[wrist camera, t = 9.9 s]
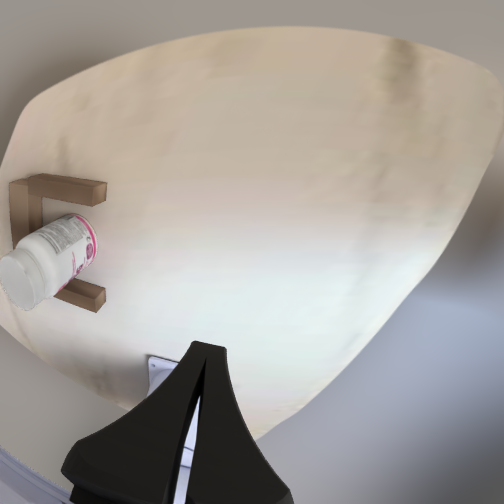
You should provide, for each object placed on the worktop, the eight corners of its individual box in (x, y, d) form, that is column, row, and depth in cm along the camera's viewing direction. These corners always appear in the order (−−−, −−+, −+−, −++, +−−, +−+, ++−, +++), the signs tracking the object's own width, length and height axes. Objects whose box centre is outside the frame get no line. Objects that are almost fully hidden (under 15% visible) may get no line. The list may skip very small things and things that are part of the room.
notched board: (106, 300, 22) (96, 312, 20) (29, 273, 22) (18, 281, 20) (106, 182, 18) (93, 187, 16) (23, 171, 18) (9, 175, 16)
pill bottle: (90, 274, 21) (35, 328, 13) (54, 245, 20) (-6, 287, 12) (107, 233, 20) (42, 281, 12) (67, 202, 19) (-3, 236, 11)
